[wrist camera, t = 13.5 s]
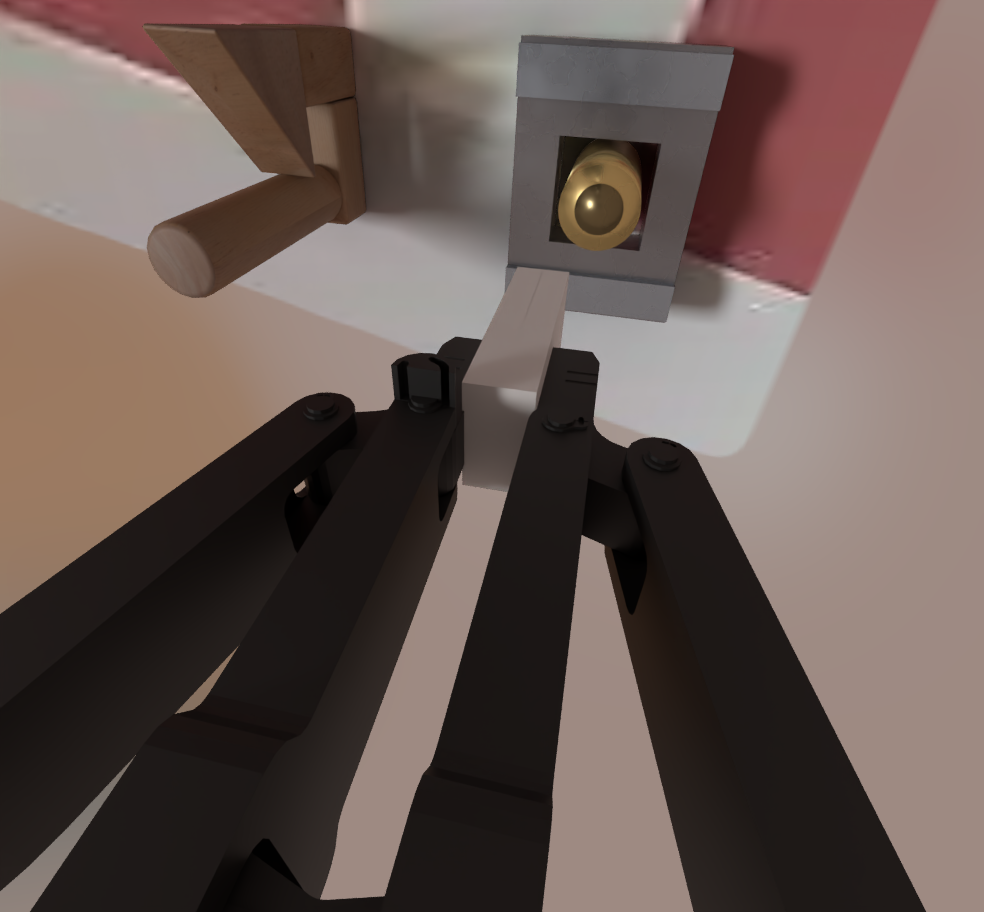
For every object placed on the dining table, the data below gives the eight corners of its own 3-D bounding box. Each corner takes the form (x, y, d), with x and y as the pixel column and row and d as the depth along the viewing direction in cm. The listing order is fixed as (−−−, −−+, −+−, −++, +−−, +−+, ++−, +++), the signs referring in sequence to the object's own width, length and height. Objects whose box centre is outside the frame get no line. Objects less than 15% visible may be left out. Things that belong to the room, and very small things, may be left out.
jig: (531, 34, 32) (519, 35, 29) (725, 45, 31) (735, 47, 27) (514, 285, 41) (503, 306, 38) (662, 302, 40) (664, 326, 37)
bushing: (574, 136, 35) (559, 164, 29) (646, 136, 34) (646, 165, 28) (570, 209, 37) (556, 250, 31) (636, 211, 37) (635, 253, 31)
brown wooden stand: (352, 27, 34) (152, 27, 20) (368, 212, 40) (227, 308, 27) (297, 24, 34) (64, 21, 20) (322, 207, 41) (159, 299, 27)
